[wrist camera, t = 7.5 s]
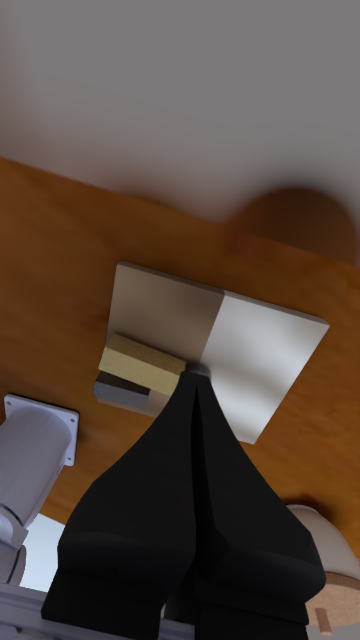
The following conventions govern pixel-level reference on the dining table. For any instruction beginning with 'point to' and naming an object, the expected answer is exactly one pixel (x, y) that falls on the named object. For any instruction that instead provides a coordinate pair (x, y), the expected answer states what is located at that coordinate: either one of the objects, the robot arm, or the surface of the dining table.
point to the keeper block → (121, 390)
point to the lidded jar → (332, 574)
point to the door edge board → (215, 341)
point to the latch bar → (146, 365)
